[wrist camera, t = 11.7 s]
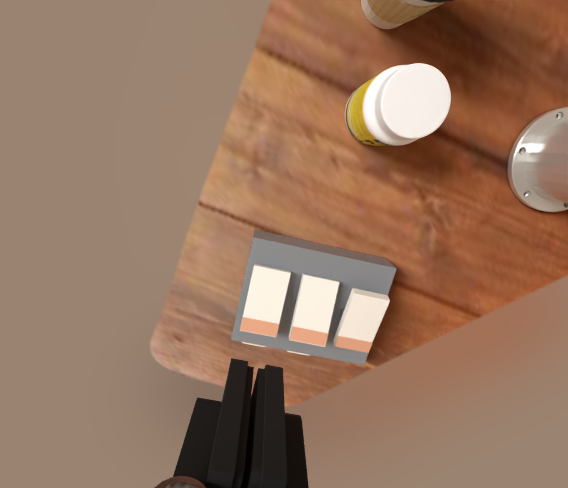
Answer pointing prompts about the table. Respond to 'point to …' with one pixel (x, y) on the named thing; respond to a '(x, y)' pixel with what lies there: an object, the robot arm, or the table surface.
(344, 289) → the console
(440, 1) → the coffee cup
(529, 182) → the robot arm
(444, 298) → the table surface
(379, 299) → the block
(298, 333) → the rocker
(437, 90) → the supplement bottle
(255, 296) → the block
